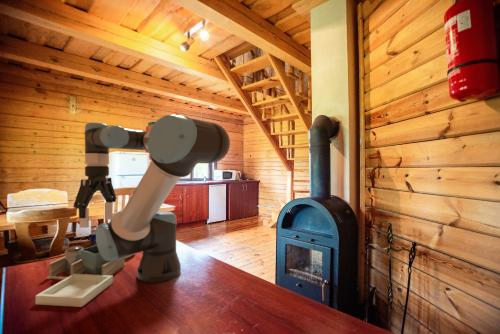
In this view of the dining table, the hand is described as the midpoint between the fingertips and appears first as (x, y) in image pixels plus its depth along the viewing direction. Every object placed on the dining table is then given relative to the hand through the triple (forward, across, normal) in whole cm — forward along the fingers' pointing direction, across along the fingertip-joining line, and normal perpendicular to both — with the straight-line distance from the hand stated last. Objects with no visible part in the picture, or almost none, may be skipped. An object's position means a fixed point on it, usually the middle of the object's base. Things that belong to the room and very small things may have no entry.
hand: (97, 222), depth 90 cm
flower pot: (+19, -1, 0) cm, 19 cm away
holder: (+18, -1, -5) cm, 19 cm away
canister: (+18, -1, -10) cm, 21 cm away
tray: (+19, +14, +3) cm, 23 cm away
